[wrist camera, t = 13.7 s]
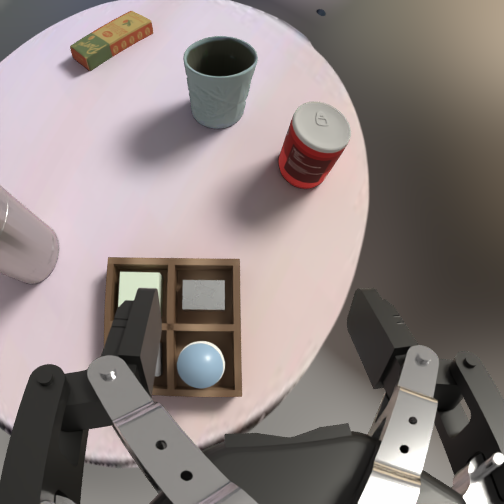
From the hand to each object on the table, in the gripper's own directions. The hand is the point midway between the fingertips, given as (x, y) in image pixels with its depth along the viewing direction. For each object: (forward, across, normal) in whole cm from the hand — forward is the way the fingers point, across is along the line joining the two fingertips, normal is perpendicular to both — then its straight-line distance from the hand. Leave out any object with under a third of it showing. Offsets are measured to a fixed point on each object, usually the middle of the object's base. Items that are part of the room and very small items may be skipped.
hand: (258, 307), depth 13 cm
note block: (+23, +11, +17) cm, 30 cm away
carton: (+60, +25, -18) cm, 67 cm away
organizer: (+20, +7, +20) cm, 29 cm away
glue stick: (+17, +3, +22) cm, 28 cm away
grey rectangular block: (+23, +3, +17) cm, 28 cm away
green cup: (+45, +2, -4) cm, 45 cm away
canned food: (+37, -11, +4) cm, 39 cm away
